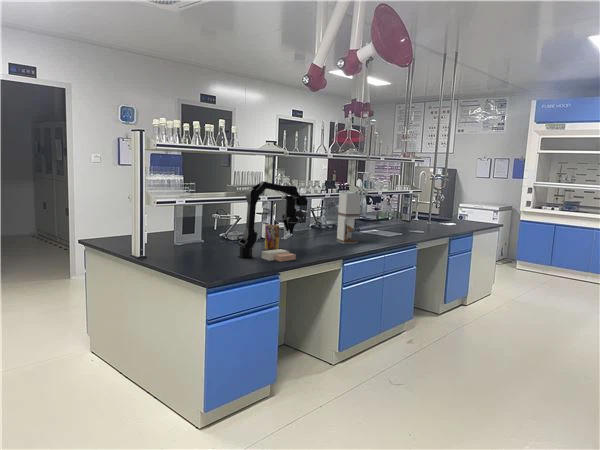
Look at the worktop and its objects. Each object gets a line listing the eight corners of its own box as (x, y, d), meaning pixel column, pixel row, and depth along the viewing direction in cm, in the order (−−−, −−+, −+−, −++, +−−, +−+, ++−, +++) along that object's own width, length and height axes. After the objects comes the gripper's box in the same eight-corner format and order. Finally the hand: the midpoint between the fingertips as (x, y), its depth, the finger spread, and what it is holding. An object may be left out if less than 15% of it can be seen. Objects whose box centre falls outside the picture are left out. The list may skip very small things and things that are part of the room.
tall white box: (344, 243, 314) (346, 194, 309) (336, 241, 323) (339, 193, 319) (357, 243, 319) (360, 194, 314) (350, 240, 328) (353, 193, 323)
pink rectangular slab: (280, 261, 247) (280, 256, 247) (274, 259, 251) (274, 254, 251) (295, 259, 254) (295, 254, 254) (289, 257, 258) (289, 253, 258)
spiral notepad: (270, 260, 249) (270, 253, 249) (261, 258, 255) (261, 250, 255) (289, 258, 259) (289, 251, 258) (280, 255, 265) (280, 248, 264)
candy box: (278, 248, 288) (279, 224, 286) (278, 249, 284) (279, 225, 282) (264, 247, 287) (265, 224, 285) (264, 248, 283) (265, 225, 281)
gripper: (307, 208, 259) (306, 234, 261) (299, 205, 277) (298, 229, 279) (289, 208, 256) (287, 234, 258) (281, 204, 274) (280, 229, 276)
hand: (289, 232), depth 268 cm, fingers open, 9 cm apart
